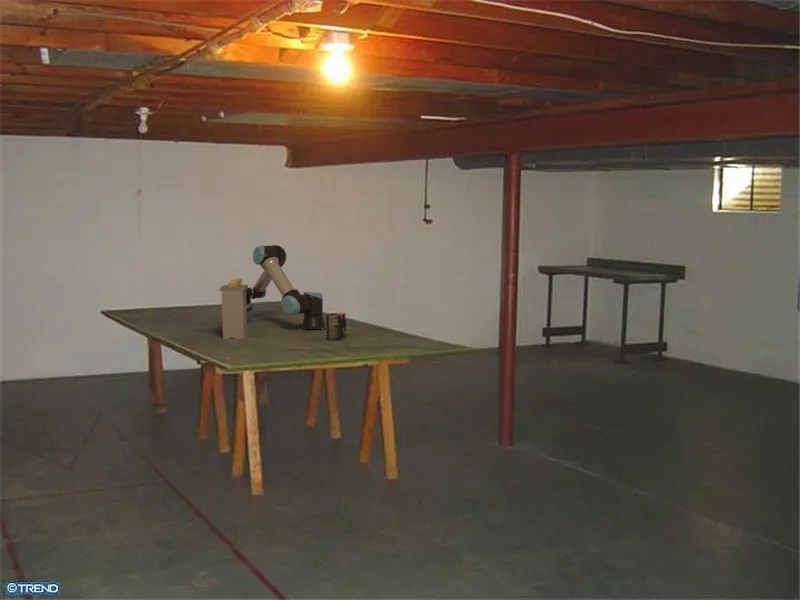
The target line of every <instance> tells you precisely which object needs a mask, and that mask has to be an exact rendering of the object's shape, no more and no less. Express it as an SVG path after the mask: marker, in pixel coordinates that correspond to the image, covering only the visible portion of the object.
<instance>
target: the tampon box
mask: <svg viewBox="0 0 800 600" xmlns="http://www.w3.org/2000/svg"><path fill="white" fill-rule="evenodd" d="M325 318H326V319H325V321H326V322H325V325H326V340H327V339H329V340H328V341H343V340H345V339H347V313H344V312H343V313H341V312H337V313H335V312H331V313H328V314H326V315H325Z"/></svg>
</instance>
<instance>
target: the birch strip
mask: <svg viewBox="0 0 800 600" xmlns="http://www.w3.org/2000/svg"><path fill="white" fill-rule="evenodd" d="M227 285H228V288H236V287H238V286H239V285H243V279H242V278H232V280H230V281H228V282H227Z"/></svg>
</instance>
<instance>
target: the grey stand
mask: <svg viewBox="0 0 800 600" xmlns="http://www.w3.org/2000/svg"><path fill="white" fill-rule="evenodd" d="M248 286H249V285H248V284H240V285H239V286H238V287H236V288H228V284H227V285H226V284H225V285H222V286H221V287H219V292H221V315H222V316H221V317H222V340H230V339H229V338H235V339H234V340H245V339H246V337H247V336H248V316H247V315H248V314H247V303H246V289H247V288H249V287H248ZM246 335H247V336H246Z"/></svg>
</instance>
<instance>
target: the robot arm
mask: <svg viewBox="0 0 800 600" xmlns="http://www.w3.org/2000/svg"><path fill="white" fill-rule="evenodd" d="M252 260H253V262H254V264H255V265H257V266H259V265H260V266H261V269H263V271H262V273H261V274H260V276H259V278H258V279H257V281H256V283H255V284H254V285H253V284H251V285H250V286H251V287H248V288H247V289H246V303H247V315H251V313H252V312H253V311H254V310H253V309H254V307H253V303H252V300H255V299H263V298H266V295H267V287H268V286H269V285H270V283H271V282H273V283H274V285H275V287H276V288H277V289H278V291H279V294H280V295H281V300H280V301H281V308H282V310H283V311H284V313H286V314H288V315H294V316H295V315H299V314H303V320H302V323H301V330H303V329H321V328H326V329H327V327H326V322H325V319H324V315H323V313H324V312H323V311H324V310H323V300H324V299H323V294H322V293H321V292H311V291H303V294H301V293H300V291H299V290H298V289H296V288H294V286H293V284H292V283H291V282H290V280H289V277H287V275H286V274H285V271H284V270H283V266H284V265H285V263H286V261H287V253H286V250H285V248H284V247H282V246H281V245H278V244H275V245H274V244H273V245H258V246H256V247H255V248H254V250H253V253H252Z"/></svg>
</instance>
